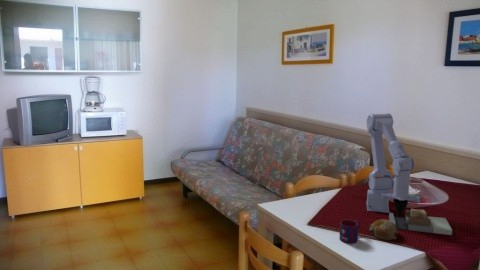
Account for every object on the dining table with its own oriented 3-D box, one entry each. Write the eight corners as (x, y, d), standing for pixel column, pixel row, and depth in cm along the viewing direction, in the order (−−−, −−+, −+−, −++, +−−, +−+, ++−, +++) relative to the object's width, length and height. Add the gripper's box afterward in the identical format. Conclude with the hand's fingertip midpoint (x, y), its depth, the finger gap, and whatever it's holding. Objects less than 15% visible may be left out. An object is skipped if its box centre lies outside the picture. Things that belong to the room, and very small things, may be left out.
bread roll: (388, 250, 141) (399, 235, 138) (364, 234, 145) (374, 218, 142) (393, 240, 149) (404, 225, 146) (370, 224, 153) (380, 210, 150)
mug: (335, 238, 143) (336, 222, 142) (352, 232, 148) (353, 216, 147) (349, 245, 138) (350, 228, 136) (366, 238, 143) (367, 221, 142)
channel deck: (391, 228, 152) (392, 217, 151) (389, 216, 163) (389, 207, 162) (451, 235, 145) (452, 224, 144) (445, 222, 156) (446, 212, 156)
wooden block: (411, 222, 152) (412, 213, 151) (410, 217, 157) (411, 208, 156) (425, 223, 151) (426, 214, 150) (423, 219, 155) (424, 210, 155)
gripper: (383, 186, 151) (381, 218, 154) (422, 190, 147) (419, 222, 150) (382, 181, 158) (380, 211, 161) (419, 184, 154) (416, 215, 156)
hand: (399, 216), depth 156 cm, fingers closed
